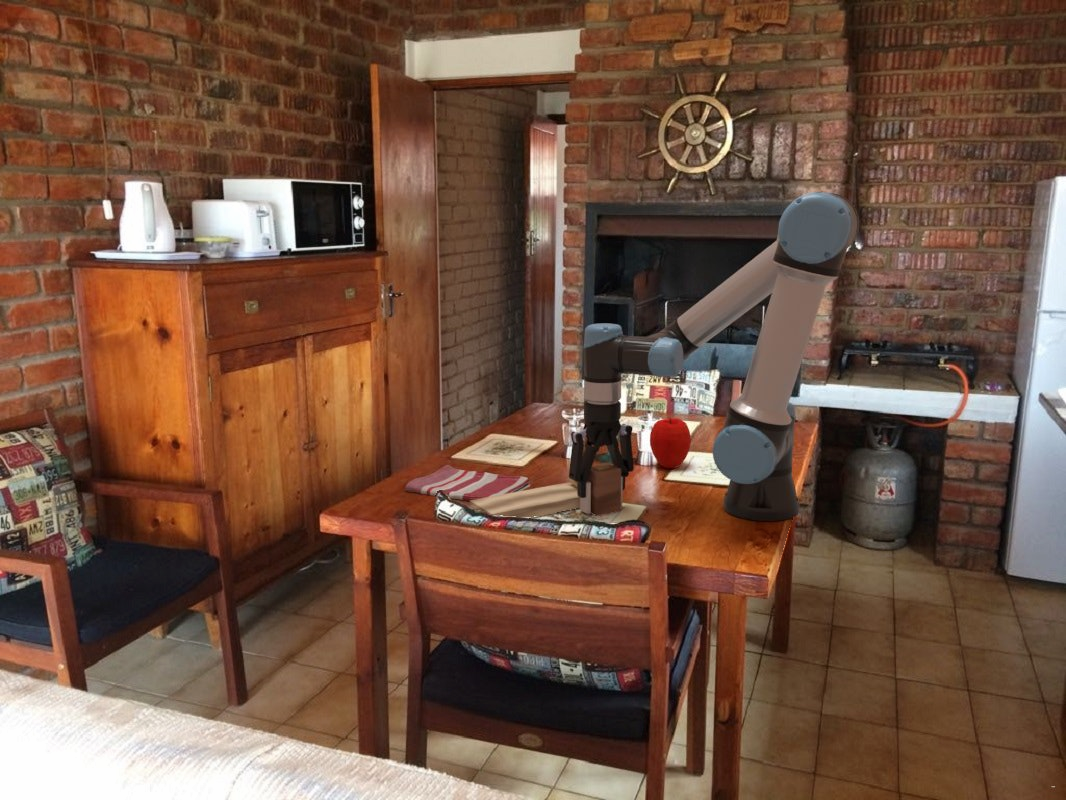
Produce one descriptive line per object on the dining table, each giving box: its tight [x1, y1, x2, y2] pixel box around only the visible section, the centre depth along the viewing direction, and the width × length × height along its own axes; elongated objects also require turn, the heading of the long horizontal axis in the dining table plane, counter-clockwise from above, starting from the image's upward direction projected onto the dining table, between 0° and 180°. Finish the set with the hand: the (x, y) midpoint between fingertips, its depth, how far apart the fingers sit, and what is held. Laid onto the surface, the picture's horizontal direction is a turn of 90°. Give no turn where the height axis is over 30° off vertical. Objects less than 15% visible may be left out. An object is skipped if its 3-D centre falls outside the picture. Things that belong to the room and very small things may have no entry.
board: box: [469, 482, 580, 519], centre depth 189 cm, size 10×28×2 cm, turn 120°
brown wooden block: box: [567, 463, 622, 517], centre depth 190 cm, size 14×6×9 cm, turn 30°
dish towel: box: [405, 464, 531, 502], centre depth 202 cm, size 17×23×3 cm
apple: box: [649, 417, 692, 469], centre depth 217 cm, size 10×10×12 cm
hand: (601, 508), depth 187 cm, fingers open, 7 cm apart
